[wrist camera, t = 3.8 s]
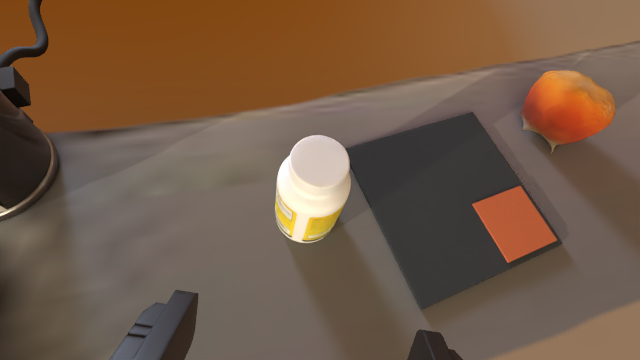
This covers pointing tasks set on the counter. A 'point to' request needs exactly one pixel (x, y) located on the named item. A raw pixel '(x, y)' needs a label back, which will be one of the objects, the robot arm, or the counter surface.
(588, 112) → the fruit
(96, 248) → the counter surface
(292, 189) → the supplement bottle
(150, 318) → the robot arm
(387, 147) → the corner mat
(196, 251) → the counter surface
